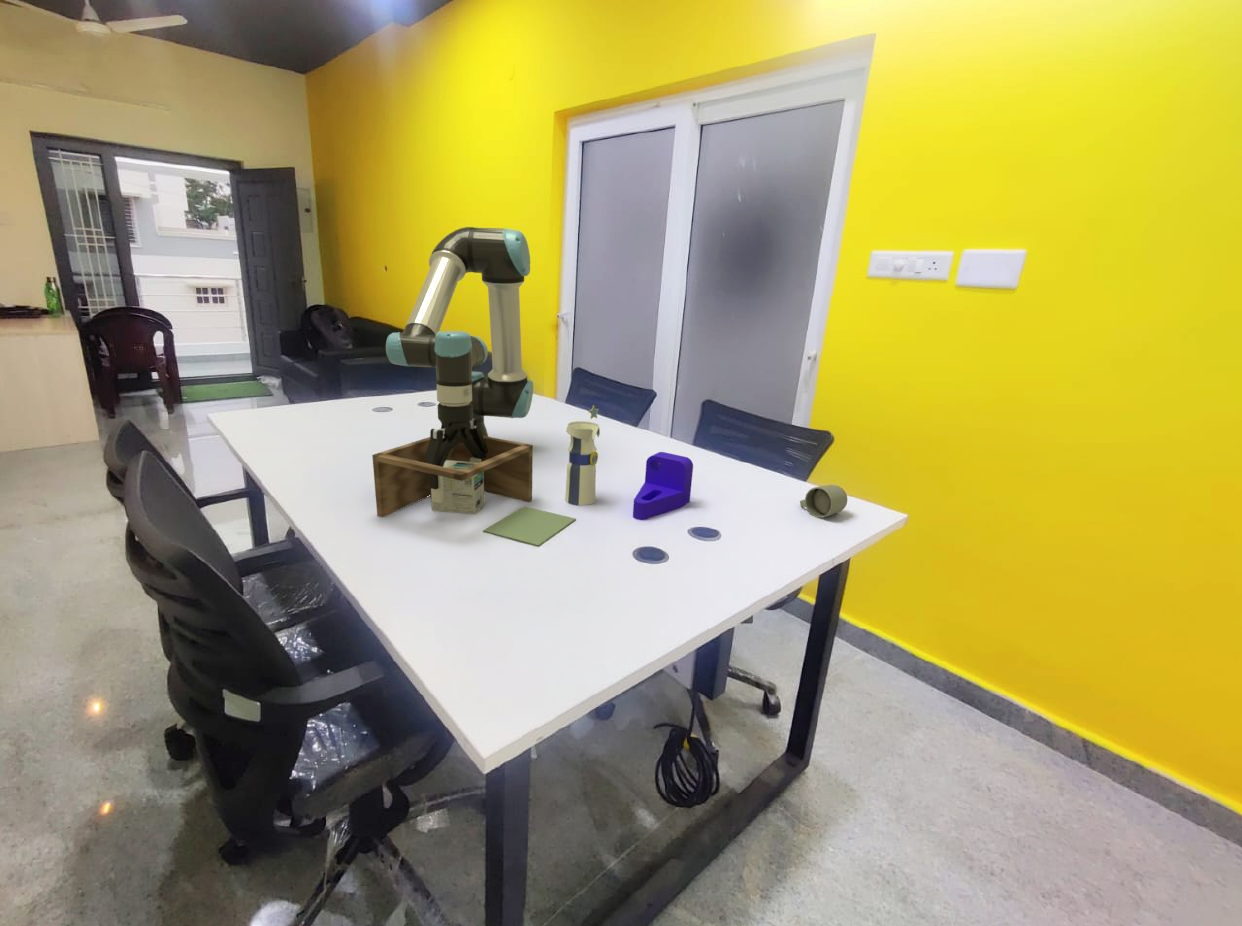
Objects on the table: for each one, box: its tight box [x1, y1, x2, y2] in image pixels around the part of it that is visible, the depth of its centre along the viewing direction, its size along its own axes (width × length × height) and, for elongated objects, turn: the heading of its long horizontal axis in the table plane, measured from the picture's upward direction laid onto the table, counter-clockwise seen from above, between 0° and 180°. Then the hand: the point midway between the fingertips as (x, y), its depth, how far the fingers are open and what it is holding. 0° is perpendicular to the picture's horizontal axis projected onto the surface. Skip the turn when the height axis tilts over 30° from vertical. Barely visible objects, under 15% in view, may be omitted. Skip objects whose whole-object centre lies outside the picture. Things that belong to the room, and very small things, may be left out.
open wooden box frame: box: [372, 436, 534, 518], centre depth 134 cm, size 26×24×14 cm
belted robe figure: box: [564, 405, 601, 507], centre depth 141 cm, size 8×9×25 cm
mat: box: [482, 505, 577, 548], centre depth 128 cm, size 16×14×1 cm
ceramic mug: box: [799, 484, 848, 519], centre depth 145 cm, size 11×8×8 cm
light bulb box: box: [430, 460, 486, 515], centre depth 134 cm, size 11×7×11 cm, turn 84°
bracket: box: [632, 451, 694, 521], centre depth 141 cm, size 18×11×12 cm, turn 149°
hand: (457, 492), depth 135 cm, fingers open, 13 cm apart
